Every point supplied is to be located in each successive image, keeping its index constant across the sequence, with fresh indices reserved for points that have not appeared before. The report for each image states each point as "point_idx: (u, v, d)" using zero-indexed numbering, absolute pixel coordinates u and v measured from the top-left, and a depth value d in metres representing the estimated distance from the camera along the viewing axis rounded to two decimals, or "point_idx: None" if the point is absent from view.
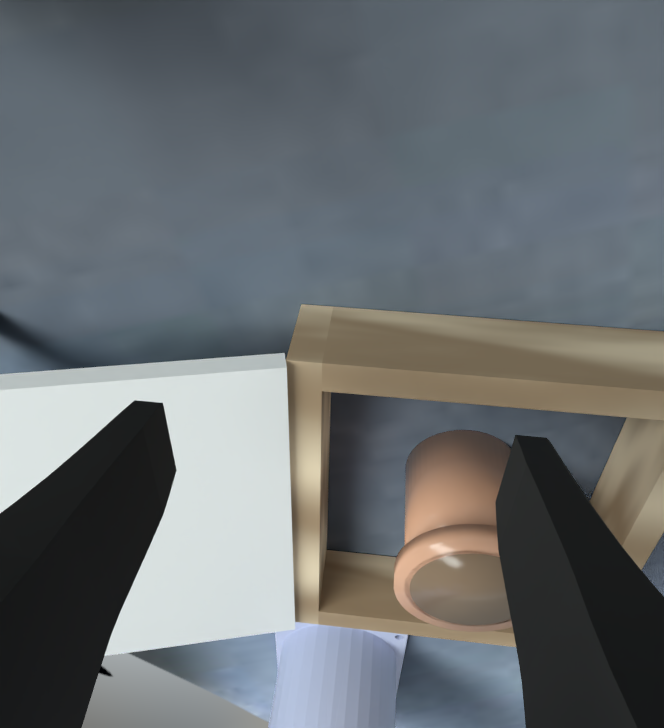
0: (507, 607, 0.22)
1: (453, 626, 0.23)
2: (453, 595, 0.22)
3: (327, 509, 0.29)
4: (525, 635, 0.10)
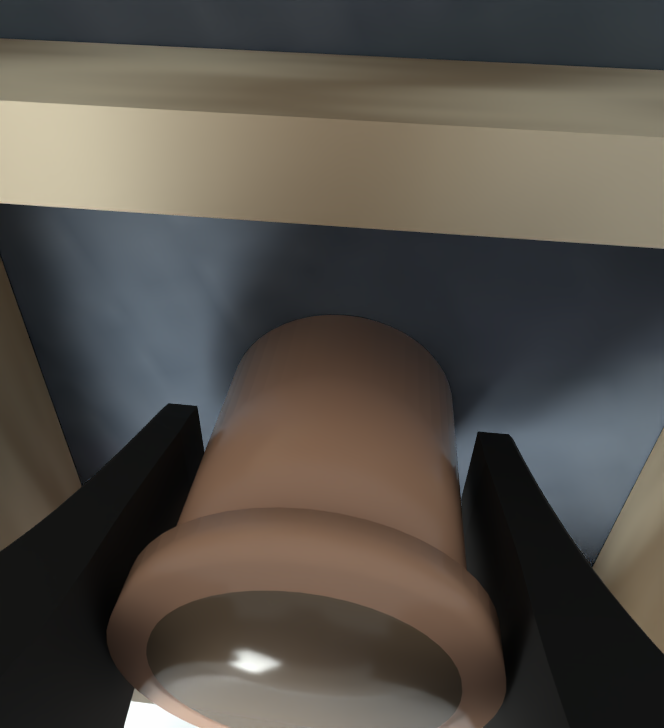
0: (356, 638, 0.08)
1: (478, 710, 0.09)
2: (330, 701, 0.09)
3: None
4: None
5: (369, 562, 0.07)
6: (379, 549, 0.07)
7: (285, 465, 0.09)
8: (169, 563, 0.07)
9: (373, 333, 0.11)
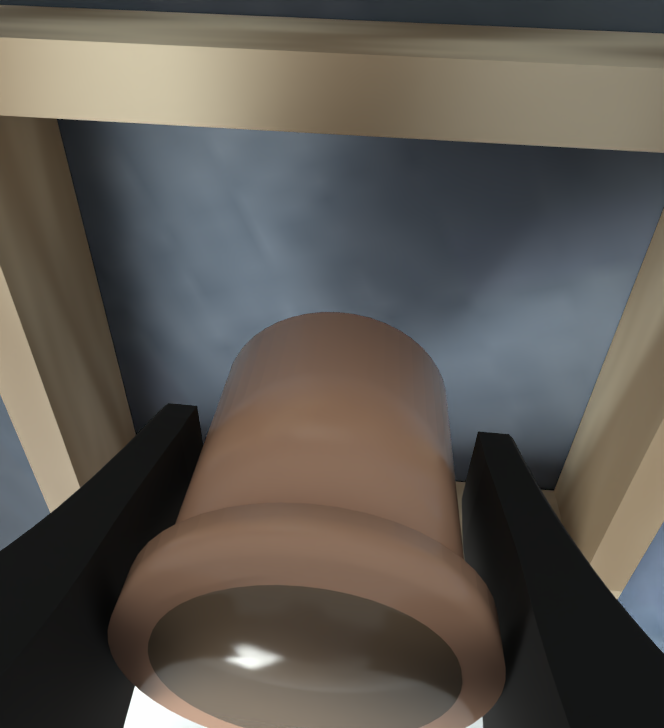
0: (357, 631, 0.08)
1: (478, 699, 0.09)
2: (331, 694, 0.09)
3: None
4: None
5: (370, 554, 0.07)
6: (379, 542, 0.07)
7: (283, 462, 0.09)
8: (170, 560, 0.07)
9: (368, 329, 0.12)
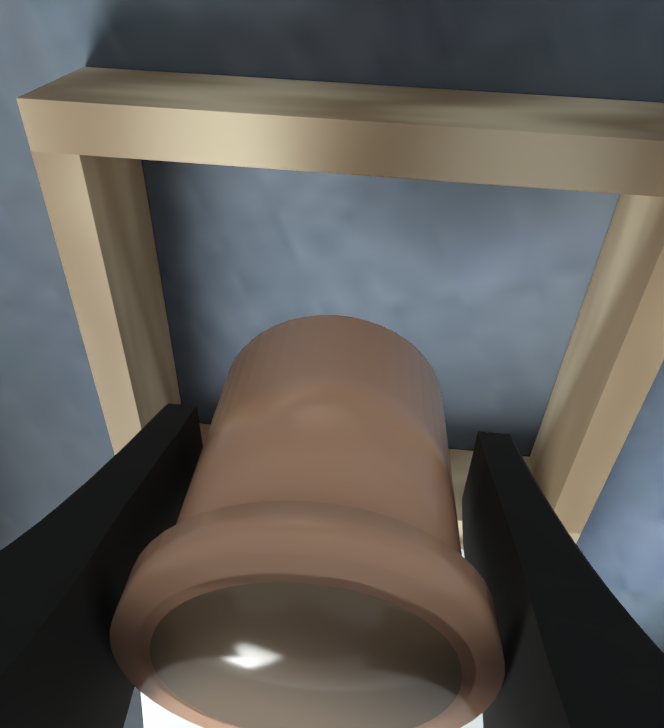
0: (358, 628, 0.08)
1: (478, 696, 0.09)
2: (332, 693, 0.09)
3: None
4: None
5: (371, 550, 0.07)
6: (379, 538, 0.07)
7: (283, 461, 0.09)
8: (173, 559, 0.08)
9: (364, 332, 0.12)
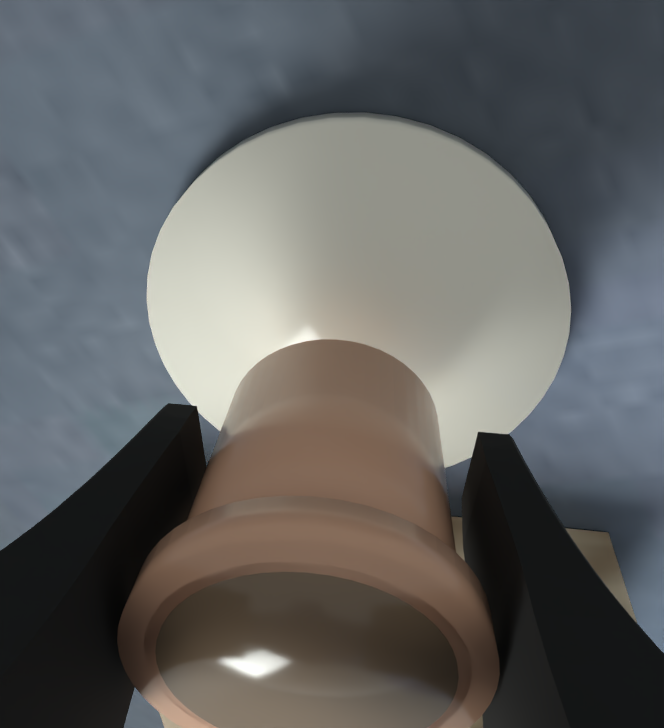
0: (357, 621, 0.08)
1: (475, 698, 0.09)
2: (332, 696, 0.09)
3: None
4: None
5: (370, 540, 0.08)
6: (378, 530, 0.08)
7: (287, 465, 0.09)
8: (183, 550, 0.08)
9: (363, 354, 0.12)
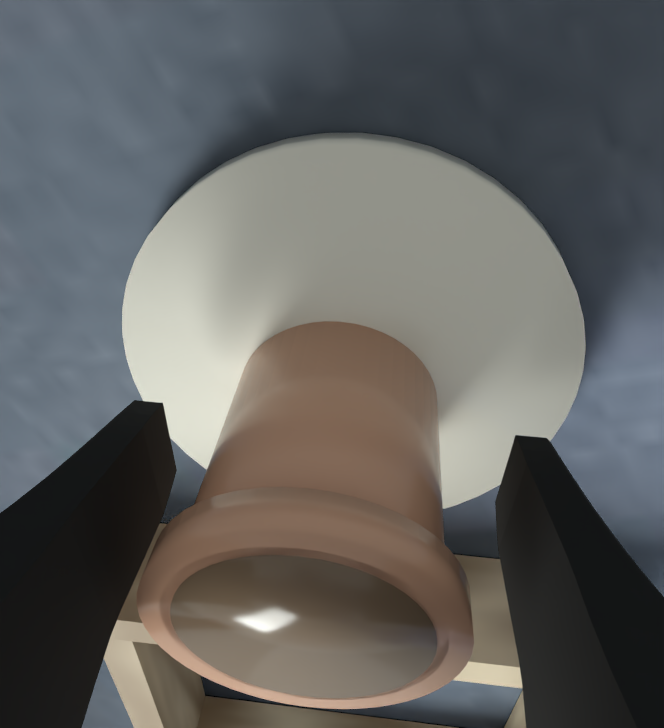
0: (346, 596, 0.09)
1: (452, 660, 0.10)
2: (326, 654, 0.10)
3: (423, 727, 0.27)
4: (525, 635, 0.10)
5: (356, 530, 0.09)
6: (365, 520, 0.09)
7: (286, 453, 0.10)
8: (191, 533, 0.09)
9: (365, 337, 0.13)
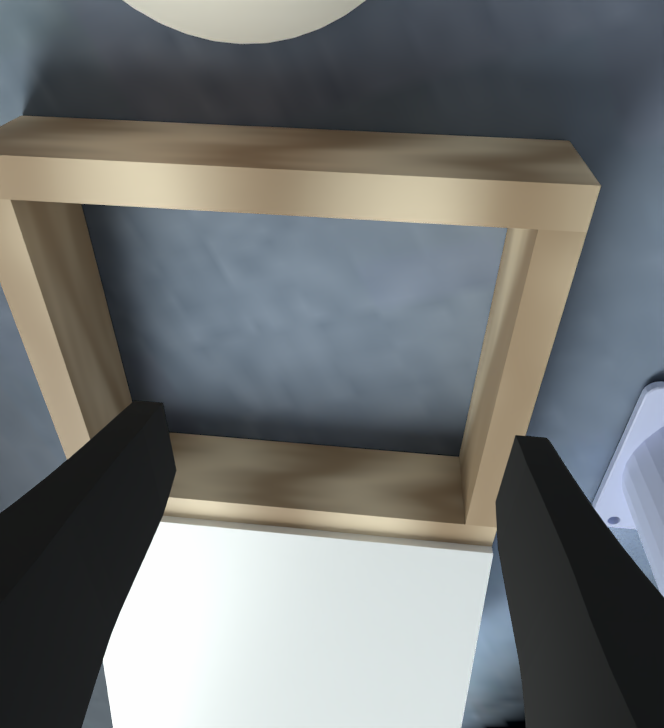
0: None
1: None
2: None
3: (374, 452, 0.25)
4: (525, 635, 0.10)
5: None
6: None
7: None
8: None
9: None
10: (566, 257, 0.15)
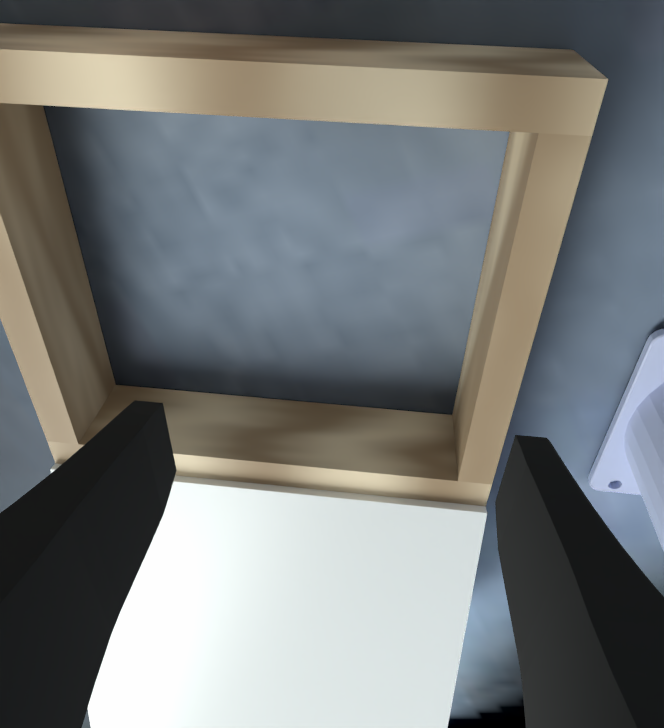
0: None
1: None
2: None
3: (363, 409, 0.24)
4: (525, 635, 0.10)
5: None
6: None
7: None
8: None
9: None
10: (569, 166, 0.14)
